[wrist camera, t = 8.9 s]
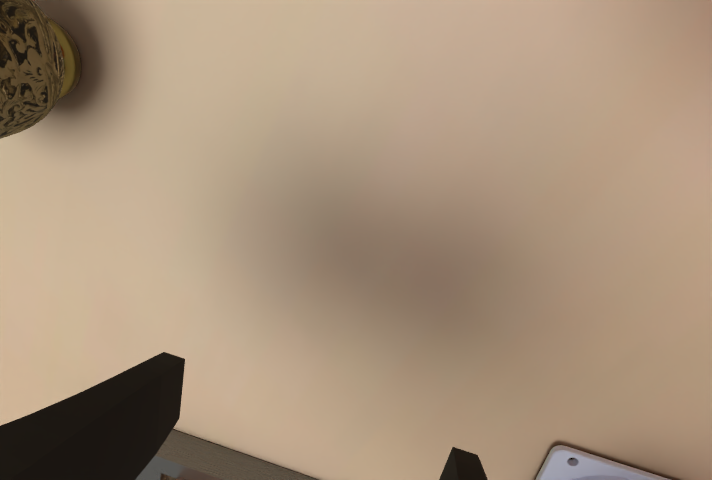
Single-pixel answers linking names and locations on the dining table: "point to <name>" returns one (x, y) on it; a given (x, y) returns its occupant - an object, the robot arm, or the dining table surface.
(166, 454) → the grey square hole board
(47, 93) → the cup
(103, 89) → the dining table surface
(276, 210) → the dining table surface
